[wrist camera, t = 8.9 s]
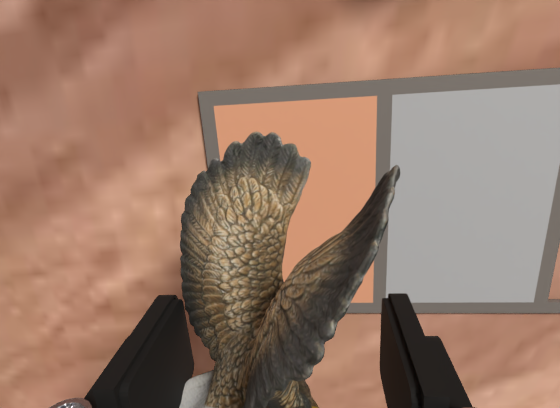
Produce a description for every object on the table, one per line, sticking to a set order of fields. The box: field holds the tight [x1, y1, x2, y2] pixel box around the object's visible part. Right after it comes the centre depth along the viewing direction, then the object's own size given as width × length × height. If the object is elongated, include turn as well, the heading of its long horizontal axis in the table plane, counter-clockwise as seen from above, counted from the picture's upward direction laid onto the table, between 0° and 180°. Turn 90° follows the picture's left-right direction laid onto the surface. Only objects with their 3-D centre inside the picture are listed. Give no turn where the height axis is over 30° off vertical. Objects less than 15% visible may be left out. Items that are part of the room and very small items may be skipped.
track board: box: [198, 68, 560, 313], centre depth 22 cm, size 30×15×1 cm, turn 94°
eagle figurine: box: [179, 132, 400, 408], centre depth 10 cm, size 8×7×9 cm
